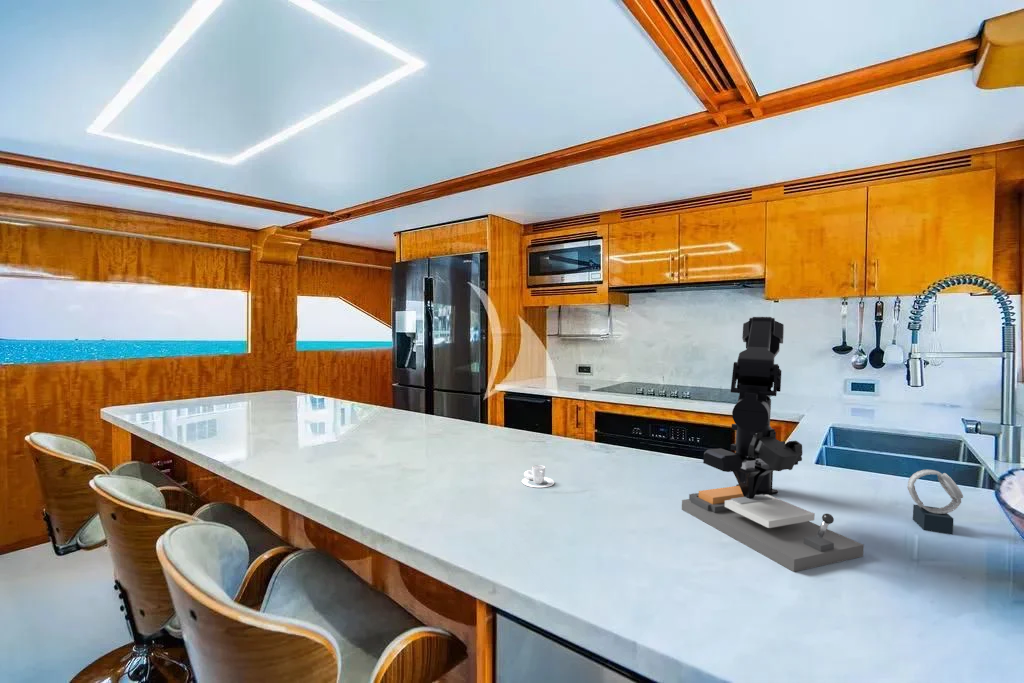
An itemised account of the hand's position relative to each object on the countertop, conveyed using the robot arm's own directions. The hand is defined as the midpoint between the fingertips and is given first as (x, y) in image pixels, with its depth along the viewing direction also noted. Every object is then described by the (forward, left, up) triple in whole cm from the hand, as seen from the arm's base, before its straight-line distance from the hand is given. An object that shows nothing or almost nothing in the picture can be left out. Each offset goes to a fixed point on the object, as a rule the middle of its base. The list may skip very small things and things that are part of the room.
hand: (748, 500), depth 92 cm
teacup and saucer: (+28, -36, -5) cm, 45 cm away
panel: (0, +4, -5) cm, 6 cm away
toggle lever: (0, +15, -1) cm, 15 cm away
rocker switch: (0, +5, 0) cm, 5 cm away
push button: (0, -5, -2) cm, 6 cm away
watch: (-34, +13, -5) cm, 37 cm away
